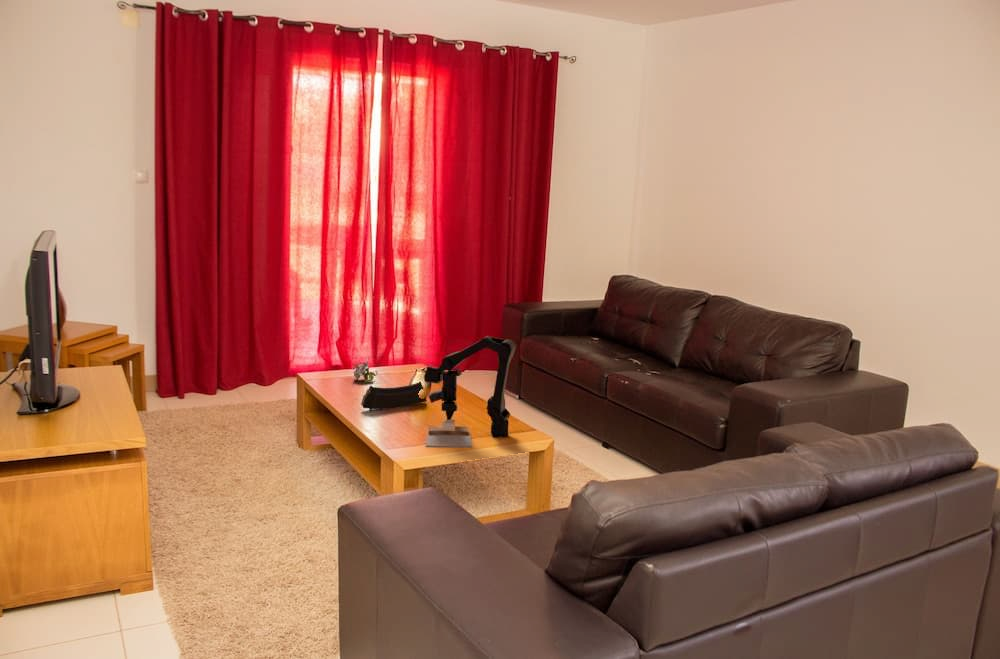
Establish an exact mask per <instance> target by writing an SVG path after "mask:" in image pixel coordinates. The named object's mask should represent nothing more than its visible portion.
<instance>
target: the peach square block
mask: <svg viewBox="0 0 1000 659" xmlns="http://www.w3.org/2000/svg"><path fill="white" fill-rule="evenodd" d="M441 426H442V431H455V426H456V420H455V419H451V420H447V419H442V425H441Z"/></svg>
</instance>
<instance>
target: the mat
mask: <svg viewBox="0 0 1000 659" xmlns="http://www.w3.org/2000/svg"><path fill="white" fill-rule="evenodd" d="M425 447H426V448H431V447H432V448H473V442H472V434H471V435H470V434H468V435H429V434H425Z"/></svg>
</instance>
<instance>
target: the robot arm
mask: <svg viewBox="0 0 1000 659" xmlns="http://www.w3.org/2000/svg"><path fill="white" fill-rule="evenodd" d="M485 348H487V349H489V350H491V351H492V352H495V353H497V359H498V365H497V366H498V367H497V371H496V377H495V385H494V390H493V395H491V396H490V397H489V398H488V399H487V405H486V407H485V410H486V412H487V415H488V416H489V417H490V420H491V423H490V434H491V436H492V438H509V418H510V416H511V413H510V411H508V409H507V408H506V398H505V392H506V385H507V380H508V373H509V369H510V363H511V361H512V359H513V357H514V354H515V351H516V348H517V346H516V343H515V342H514V340H512V339H503V338H498V337H493V336H490V335H486V336H485V337H482V338H481V339H480V340H478V341H477V342H475V343H473V344H471V345H470V346H467V347H466V348H464V349H462V350H459V351H456V352H455V351H454V352H452V353H450V354H448V355H446V356H445V357H443V358H442V359H441V364H440V365H439V366H438V367H437V366H432V365H427V366H426V369H425V372H424V375H423V379H424V380H423V381H424V382H425V383H430V384H438V385H439V384H440V383H441V382H442V386H441V389H437V390H434V391H431V392H428V398H429V401H430V403H431V404H432V403H435V402H438V401H441V412H445V417H446V420H452V418H453V415H454V413H455V412H456V411H458V404H457V391H458V390H457V389H458V388H457V386H458V385H457V383H458V382H457V381H458V377H460V376H461V375H462V374H463V372H461V371H460V369H459V368H457V369H455V368H456V367H457V366H459V365H461V363H462V362H463V361H464V360H466V359H467V358H469V357H471V356H473V355H475V354H477V353H478V352H480V351H483V350H484V349H485ZM453 369H455V370H453Z"/></svg>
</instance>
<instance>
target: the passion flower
mask: <svg viewBox="0 0 1000 659" xmlns="http://www.w3.org/2000/svg"><path fill="white" fill-rule="evenodd" d="M368 364H369V360H366V362H365V361H364V362H362V363H360V364H359V362H356V363H355V365H354V366H353V367H352V370H354V371H353V377H354V378H355V379H354V381H355V380H357V381H358V380H359V378H360V377H361V376H362V377H363V380H364V383H365V384H366V383H367V384H368V381H369V382H370V383H371V382H372V381H373V380H374V377H377V376H378V370H375V371H369V370H370V367H369V365H368Z"/></svg>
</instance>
